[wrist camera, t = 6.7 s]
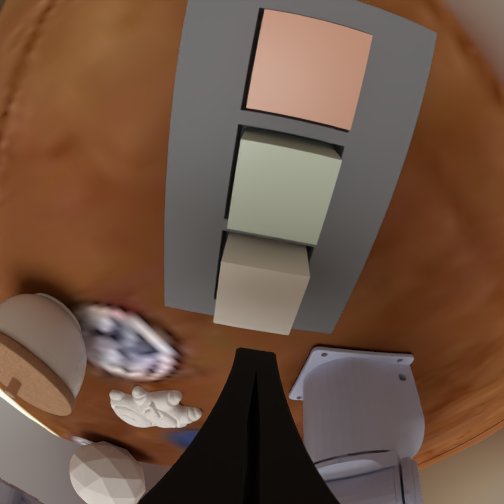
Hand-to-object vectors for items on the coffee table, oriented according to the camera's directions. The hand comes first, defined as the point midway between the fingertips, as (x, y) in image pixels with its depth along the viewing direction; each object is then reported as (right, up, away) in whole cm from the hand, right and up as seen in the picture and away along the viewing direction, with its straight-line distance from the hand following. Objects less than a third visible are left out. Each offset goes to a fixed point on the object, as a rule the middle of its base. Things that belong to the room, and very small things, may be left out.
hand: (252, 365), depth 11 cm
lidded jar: (-19, -2, +13) cm, 23 cm away
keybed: (+1, +9, +4) cm, 10 cm away
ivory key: (0, +3, +5) cm, 6 cm away
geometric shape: (-26, -33, +34) cm, 54 cm away
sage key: (+1, +8, +3) cm, 9 cm away
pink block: (+2, +12, 0) cm, 12 cm away
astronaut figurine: (-11, -13, +21) cm, 27 cm away
